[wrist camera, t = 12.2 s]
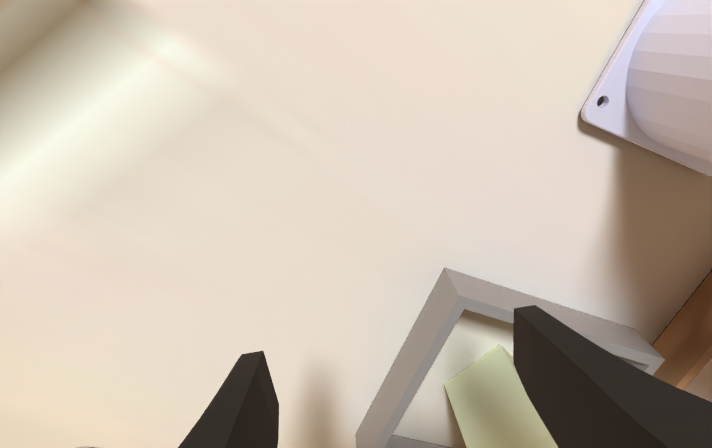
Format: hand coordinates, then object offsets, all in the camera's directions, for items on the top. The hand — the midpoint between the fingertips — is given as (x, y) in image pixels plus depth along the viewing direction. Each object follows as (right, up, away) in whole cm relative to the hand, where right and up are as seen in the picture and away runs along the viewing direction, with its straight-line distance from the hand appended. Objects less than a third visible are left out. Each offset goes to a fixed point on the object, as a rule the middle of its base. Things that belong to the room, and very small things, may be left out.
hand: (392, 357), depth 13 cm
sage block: (+7, -6, +14) cm, 16 cm away
